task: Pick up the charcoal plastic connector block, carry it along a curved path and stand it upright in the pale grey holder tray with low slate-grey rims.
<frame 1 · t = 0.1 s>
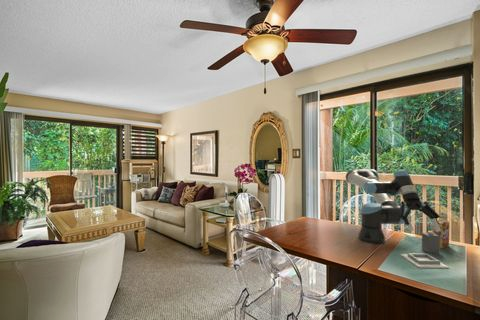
hand: (425, 231, 121), 15 cm above the table, tool tilted 35°, fingers open, 13 cm apart
candy box: (441, 246, 138), on the table
connector block: (430, 251, 131), on the table
end holder: (423, 261, 119), on the table
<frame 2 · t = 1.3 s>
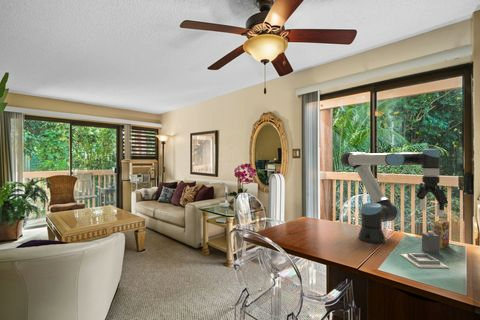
hand: (430, 212, 131), 22 cm above the table, tool pointing down, fingers open, 13 cm apart
nothing on the table moved.
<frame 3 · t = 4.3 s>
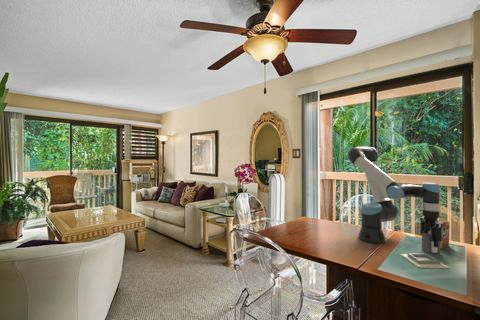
hand: (430, 250, 131), 1 cm above the table, tool pointing down, fingers closed on connector block, 5 cm apart
connector block: (430, 251, 131), on the table, touching gripper
everything else where it was.
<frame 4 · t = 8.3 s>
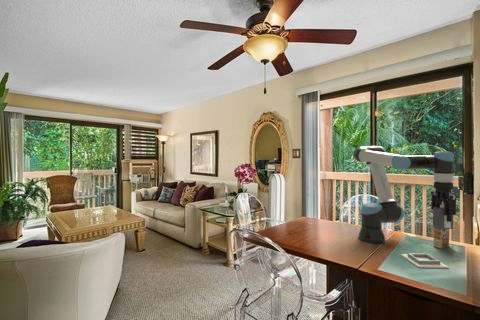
hand: (442, 225, 119), 18 cm above the table, tool pointing down, fingers closed on connector block, 5 cm apart
connector block: (442, 227, 119), point 18 cm above the table, touching gripper
everything else where it was.
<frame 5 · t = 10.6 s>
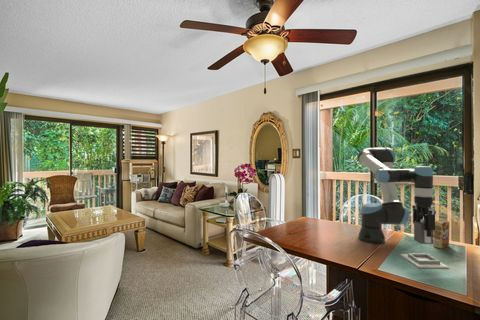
hand: (423, 240, 119), 11 cm above the table, tool pointing down, fingers closed on connector block, 5 cm apart
connector block: (423, 241, 119), point 10 cm above the table, touching gripper
everything else where it was.
when the fingers open (3 cm above the table, at t = 12.7 s): connector block drops 2 cm, resting on end holder.
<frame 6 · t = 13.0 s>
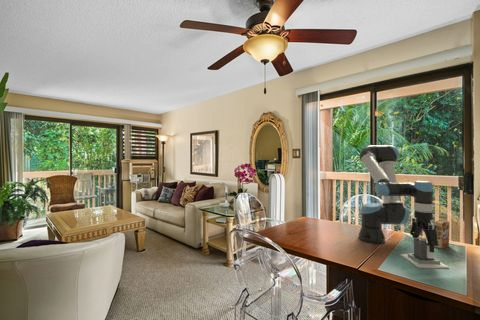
hand: (423, 253, 119), 4 cm above the table, tool pointing down, fingers open, 9 cm apart
connector block: (423, 259, 119), point 1 cm above the table, touching end holder
everything else where it was.
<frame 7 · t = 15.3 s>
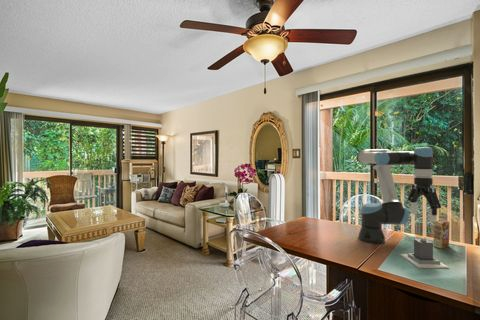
hand: (422, 217, 119), 23 cm above the table, tool pointing down, fingers open, 13 cm apart
nothing on the table moved.
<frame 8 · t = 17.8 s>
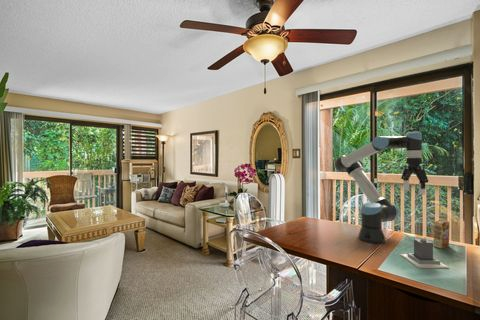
hand: (413, 192, 139), 33 cm above the table, tool pointing down, fingers open, 13 cm apart
nothing on the table moved.
at the end: connector block 0.0 cm off-centre on the end holder, point 0.8 cm above the end holder's base; connector block tilted 0°; the gripper is holding nothing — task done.
